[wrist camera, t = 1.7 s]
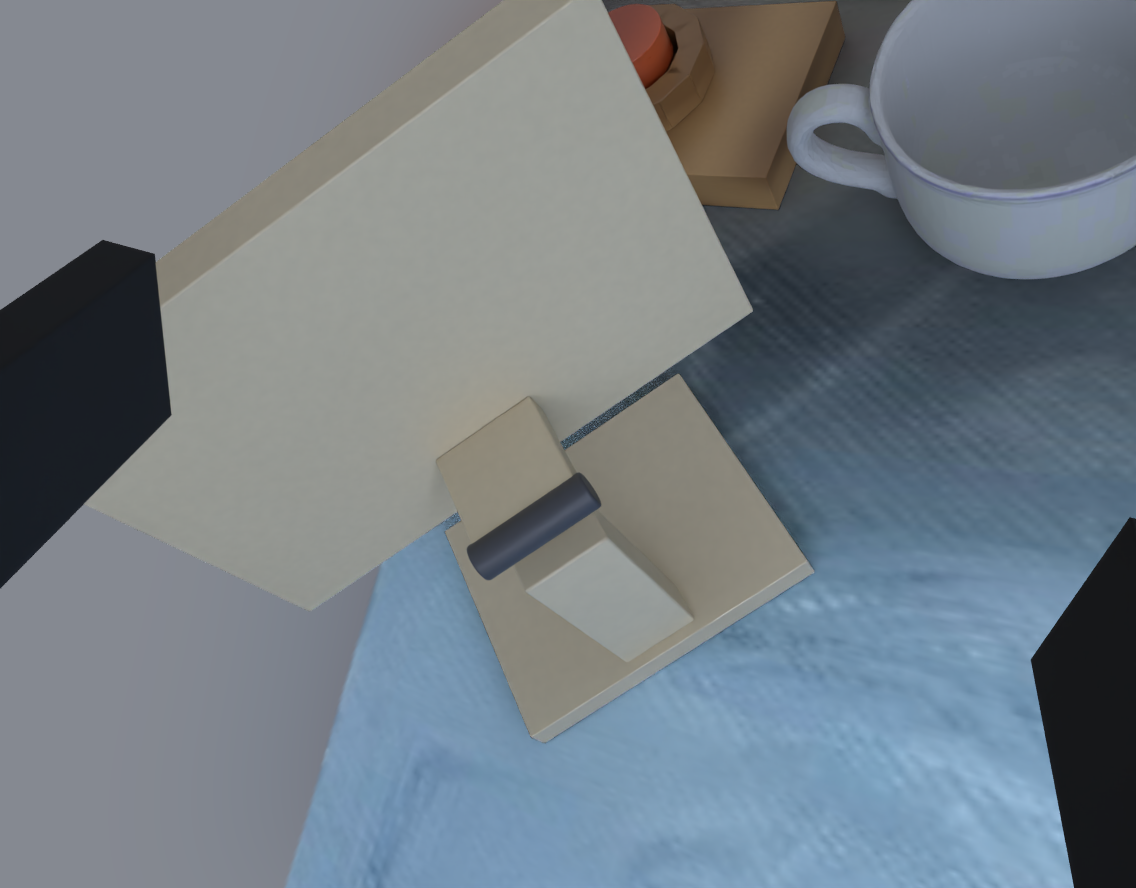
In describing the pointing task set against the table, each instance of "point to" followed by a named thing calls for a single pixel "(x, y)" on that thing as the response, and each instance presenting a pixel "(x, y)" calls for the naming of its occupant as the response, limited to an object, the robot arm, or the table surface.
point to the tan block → (742, 92)
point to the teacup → (995, 131)
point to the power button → (644, 40)
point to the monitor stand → (634, 564)
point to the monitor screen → (427, 315)
